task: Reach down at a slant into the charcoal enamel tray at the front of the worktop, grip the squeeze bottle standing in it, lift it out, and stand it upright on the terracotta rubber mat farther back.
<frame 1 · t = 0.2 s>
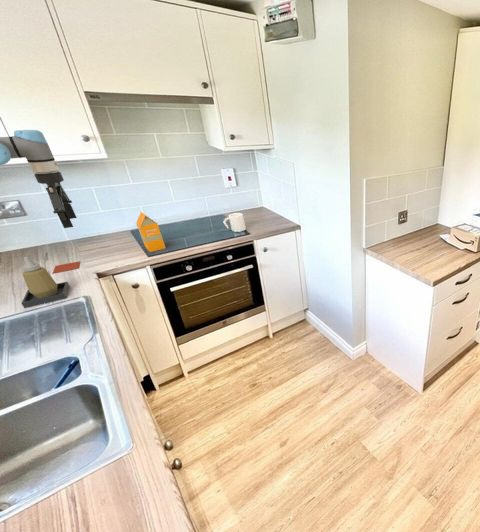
hand: (70, 222, 137), 27 cm above the worktop, tool pointing down, fingers open, 13 cm apart
mug: (235, 230, 206), on the worktop
orange juice: (155, 248, 179), on the worktop
mat: (67, 267, 157), on the worktop
squeeze bottle: (48, 296, 134), resting on tray
tray: (48, 296, 134), on the worktop
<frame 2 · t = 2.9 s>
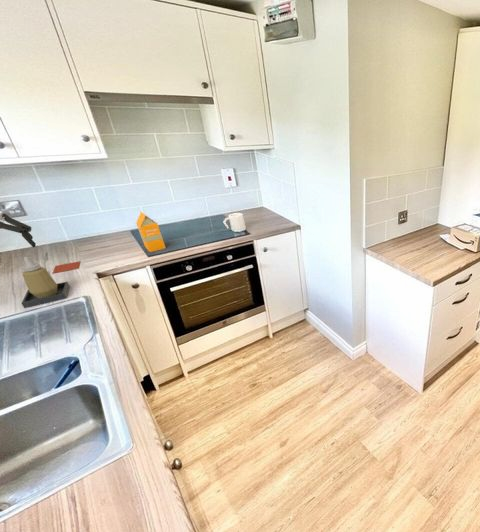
hand: (12, 251, 129), 19 cm above the worktop, tool tilted 45°, fingers open, 13 cm apart
nothing on the worktop moved.
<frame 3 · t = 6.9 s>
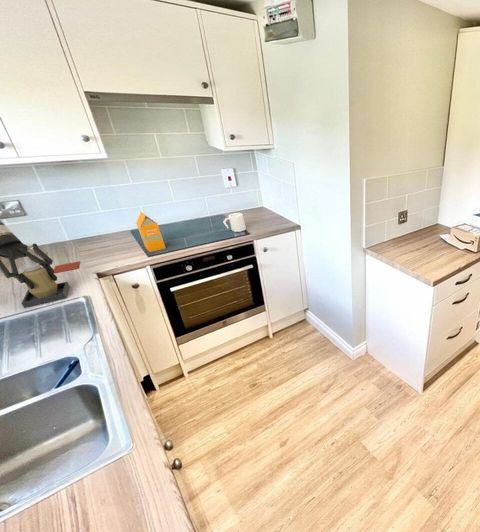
hand: (44, 283, 129), 7 cm above the worktop, tool tilted 45°, fingers closed on squeeze bottle, 6 cm apart
squeeze bottle: (48, 296, 134), resting on tray, touching gripper
everything else where it was.
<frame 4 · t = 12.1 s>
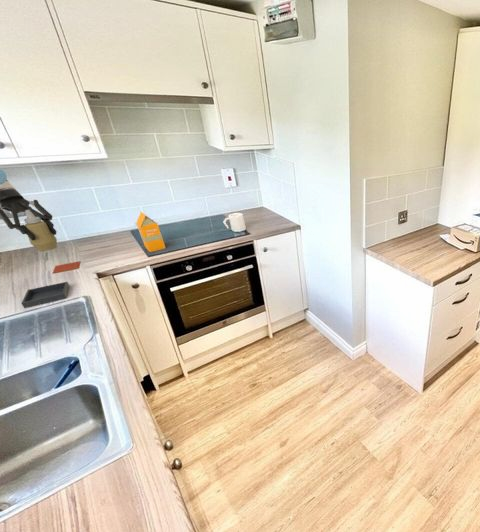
hand: (44, 235, 139), 21 cm above the worktop, tool tilted 45°, fingers closed on squeeze bottle, 6 cm apart
squeeze bottle: (48, 249, 144), point 13 cm above the worktop, touching gripper
everything else where it was.
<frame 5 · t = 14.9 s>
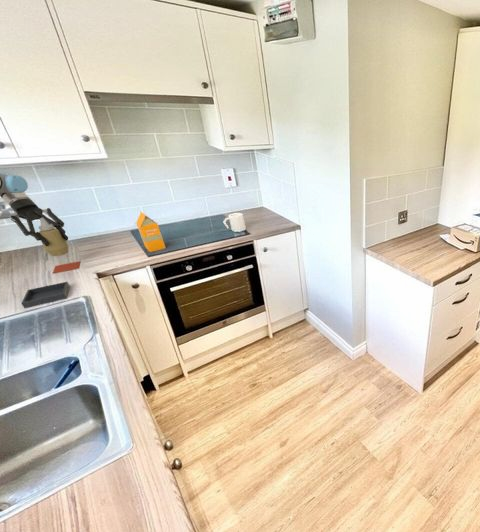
hand: (57, 241, 149), 14 cm above the worktop, tool tilted 45°, fingers closed on squeeze bottle, 6 cm apart
squeeze bottle: (60, 254, 153), point 7 cm above the worktop, touching gripper
everything else where it was.
when the fingers open (7 cm above the worktop, at t = 17.2 s): squeeze bottle stays where it is, resting on mat.
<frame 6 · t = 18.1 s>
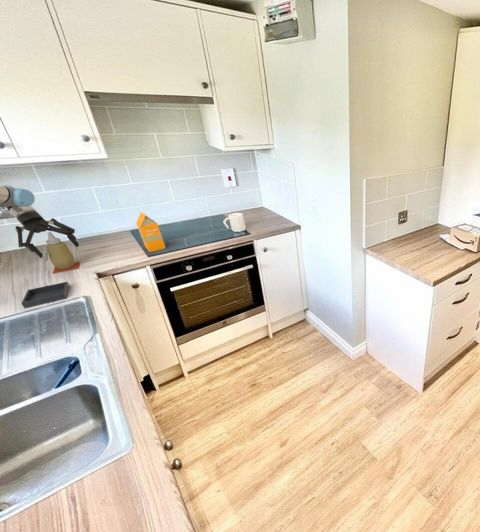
hand: (60, 250, 152), 10 cm above the worktop, tool tilted 45°, fingers open, 13 cm apart
squeeze bottle: (66, 267, 157), resting on mat
everything else where it was.
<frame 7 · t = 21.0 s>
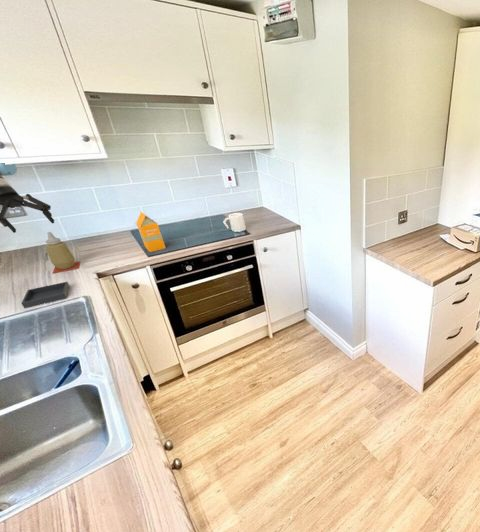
hand: (34, 226, 151), 20 cm above the worktop, tool tilted 45°, fingers open, 13 cm apart
nothing on the worktop moved.
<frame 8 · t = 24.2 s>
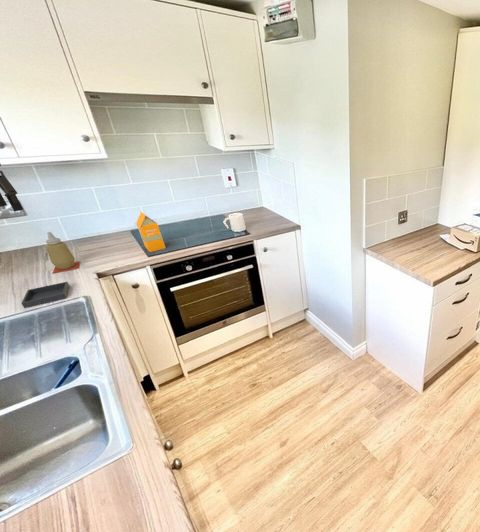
hand: (10, 208, 140), 31 cm above the worktop, tool pointing down, fingers open, 13 cm apart
nothing on the worktop moved.
at the end: squeeze bottle inside the target area on the mat (0.0 cm from its centre), point 0.1 cm above the mat's base; squeeze bottle tilted 0°; squeeze bottle touching mat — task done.
